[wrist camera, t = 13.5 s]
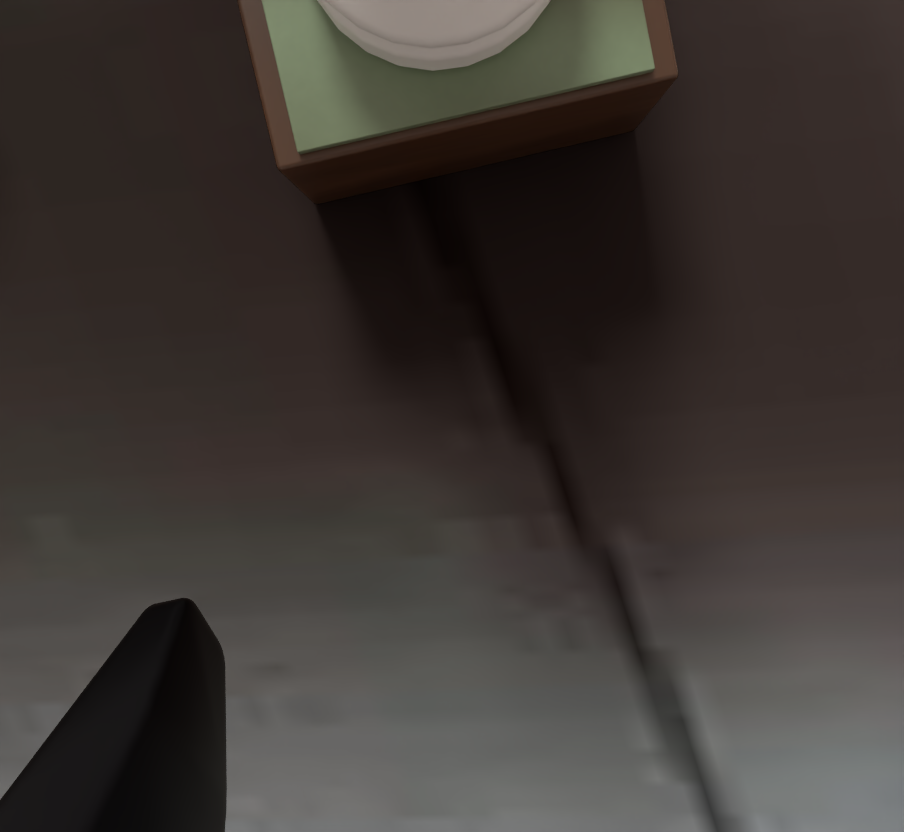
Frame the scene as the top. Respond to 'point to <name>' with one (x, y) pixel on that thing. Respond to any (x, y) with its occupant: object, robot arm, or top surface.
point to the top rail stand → (449, 93)
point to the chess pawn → (433, 28)
